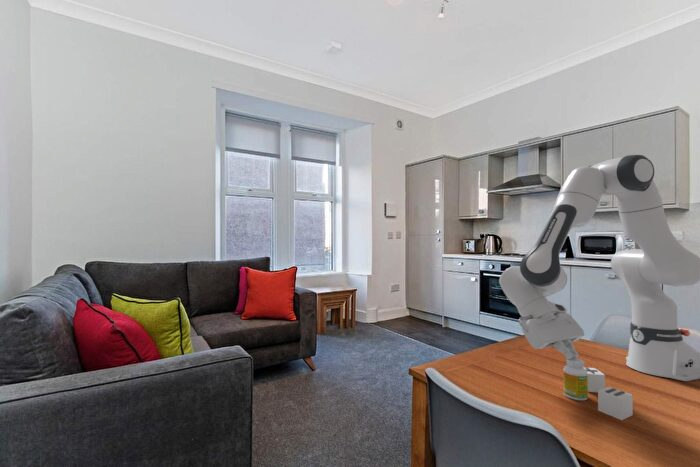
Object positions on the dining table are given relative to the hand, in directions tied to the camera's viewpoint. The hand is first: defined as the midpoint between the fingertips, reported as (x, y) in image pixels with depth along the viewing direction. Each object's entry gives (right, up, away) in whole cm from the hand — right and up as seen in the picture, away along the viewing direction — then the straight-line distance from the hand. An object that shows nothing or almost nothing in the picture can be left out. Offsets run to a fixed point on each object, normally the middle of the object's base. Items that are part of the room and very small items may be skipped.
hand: (573, 357), depth 92 cm
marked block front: (+4, -10, -9) cm, 14 cm away
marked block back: (+8, -10, +5) cm, 14 cm away
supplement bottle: (0, -11, 0) cm, 11 cm away
